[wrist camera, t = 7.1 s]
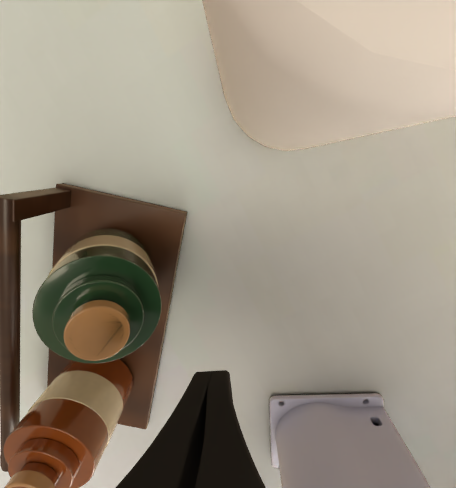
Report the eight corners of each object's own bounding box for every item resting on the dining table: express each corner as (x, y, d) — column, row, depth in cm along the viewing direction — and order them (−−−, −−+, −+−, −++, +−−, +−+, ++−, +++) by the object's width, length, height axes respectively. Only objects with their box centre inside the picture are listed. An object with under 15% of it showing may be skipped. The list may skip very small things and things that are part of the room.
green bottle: (145, 222, 19) (158, 257, 11) (157, 296, 21) (175, 371, 13) (52, 234, 17) (-7, 285, 10) (72, 314, 19) (36, 412, 11)
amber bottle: (127, 348, 22) (61, 461, 14) (139, 403, 24) (87, 533, 16) (58, 350, 22) (-45, 462, 14) (75, 405, 24) (-8, 532, 16)
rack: (63, 183, 19) (-11, 191, 14) (187, 211, 20) (165, 231, 14) (52, 401, 25) (-4, 472, 19) (148, 421, 25) (122, 497, 20)
